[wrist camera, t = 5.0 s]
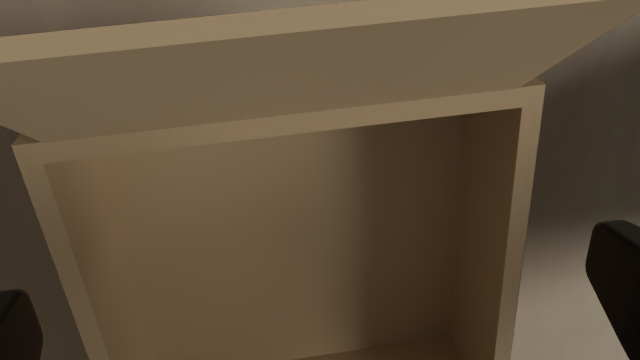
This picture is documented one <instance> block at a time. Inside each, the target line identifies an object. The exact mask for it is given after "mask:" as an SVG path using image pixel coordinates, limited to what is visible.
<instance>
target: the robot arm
mask: <svg viewBox="0 0 640 360" xmlns="http://www.w3.org/2000/svg"><path fill="white" fill-rule="evenodd" d="M586 273H587V276H588V278H589V281H590V283H591V285H592V287H593V289H594V291H595V293H596V295H597V297H598V299H599V301H600V303H601V305H602V307H603V309H604V311H605V313H606V315H607V317H608V319H609V321H610V323H611V325H612V327H613V329H614V331H615V333H616V335H617V337H618V339H619V341H620V343H621V345H622V347H623V349H624V350H625V352H626V354H627V356H628V358H629V359H630V360H640V227H639V226H637V225H634V224H632V223H629V222H627V221H624V220H612V221H604V222H599V223H597V224H596V225H595V227H594V228H593V231H592V235H591V240H590V245H589V249H588V254H587V258H586ZM42 345H43V334H42V329H41V326H40V324H39V321H38V318H37V316H36V313H35V310H34V308H33V305H32V302H31V300H30V297H29V295H28V294H27V292H26V291H24V290H22V289H16V290H7V291H0V360H40V357H41V351H42Z"/></svg>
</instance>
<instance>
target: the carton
mask: <svg viewBox="0 0 640 360" xmlns="http://www.w3.org/2000/svg"><path fill="white" fill-rule="evenodd" d="M545 87H546V84H545V83H543V82H542V81H541V80H539V79H538V78H537V77H535V78H534V79H532V80H531V81H529V82H527V83H526V84H524V85H523V86H521V87H519V88H517V89H508V90H499V91H491V92H482V93H473V94H464V95H456V96H447V97H438V98H430V99H421V100H412V101H403V102H395V103H386V104H377V105H369V106H360V107H351V108H342V109H334V110H325V111H316V112H308V113H299V114H290V115H281V116H273V117H264V118H255V119H247V120H238V121H229V122H220V123H212V124H203V125H194V126H186V127H177V128H168V129H159V130H151V131H142V132H133V133H125V134H116V135H107V136H98V137H90V138H81V139H72V140H63V141H55V142H46V143H43V142H40V141H38V140H35V139H33V138H30V137H28V136H25V135H23V134H19V136H18V137H17V138H16V140H15V141H14V143H13V144H12V145H11V147H12V149H13V152H14V155H15V158H16V160H17V163H18V166H19V168H20V171H21V174H22V177H23V179H24V182H25V185H26V188H27V190H28V193H29V196H30V199H31V201H32V204H33V207H34V210H35V212H36V215H37V218H38V221H39V223H40V226H41V229H42V232H43V234H44V237H45V240H46V243H47V245H48V248H49V251H50V254H51V256H52V259H53V262H54V265H55V267H56V270H57V273H58V276H59V278H60V281H61V284H62V287H63V289H64V292H65V295H66V298H67V300H68V303H69V306H70V308H71V311H72V314H73V317H74V319H75V322H76V325H77V328H78V330H79V333H80V336H81V339H82V341H83V344H84V347H85V350H86V352H87V355H88V358H89V360H510V358H511V350H512V342H513V335H514V327H515V319H516V311H517V304H518V296H519V288H520V280H521V273H522V265H523V257H524V249H525V242H526V234H527V226H528V218H529V211H530V203H531V195H532V187H533V180H534V172H535V164H536V156H537V149H538V141H539V133H540V125H541V118H542V110H543V102H544V94H545Z"/></svg>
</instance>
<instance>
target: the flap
mask: <svg viewBox="0 0 640 360" xmlns="http://www.w3.org/2000/svg"><path fill="white" fill-rule="evenodd" d="M639 12H640V0H364V1H354V2H344V3H334V4H324V5H314V6H304V7H294V8H284V9H274V10H264V11H254V12H244V13H234V14H224V15H214V16H204V17H194V18H184V19H174V20H164V21H154V22H144V23H135V24H125V25H115V26H105V27H95V28H85V29H75V30H65V31H55V32H45V33H35V34H25V35H15V36H5V37H0V125H1V126H3V127H6V128H8V129H11V130H13V131H16V132H18V133H20V134H23V135H25V136H28V137H30V138H33V139H35V140H38V141H40V142H43V143H46V142H55V141H63V140H72V139H81V138H90V137H98V136H107V135H116V134H125V133H133V132H142V131H151V130H159V129H168V128H177V127H186V126H194V125H203V124H212V123H220V122H229V121H238V120H247V119H255V118H264V117H273V116H281V115H290V114H299V113H308V112H316V111H325V110H334V109H342V108H351V107H360V106H369V105H377V104H386V103H395V102H403V101H412V100H421V99H430V98H438V97H447V96H456V95H464V94H473V93H482V92H491V91H499V90H508V89H517V88H519V87H521V86H523V85H524V84H526V83H527V82H529V81H531V80H532V79H534V78H535V77H537V76H538V75H540V74H542V73H543V72H545V71H546V70H548V69H550V68H551V67H553V66H554V65H556V64H558V63H559V62H561V61H562V60H564V59H565V58H567V57H569V56H570V55H572V54H573V53H575V52H577V51H578V50H580V49H581V48H583V47H585V46H586V45H588V44H589V43H591V42H592V41H594V40H596V39H597V38H599V37H600V36H602V35H604V34H605V33H607V32H608V31H610V30H612V29H613V28H615V27H616V26H618V25H619V24H621V23H623V22H624V21H626V20H627V19H629V18H631V17H632V16H634V15H635V14H637V13H639Z"/></svg>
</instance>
